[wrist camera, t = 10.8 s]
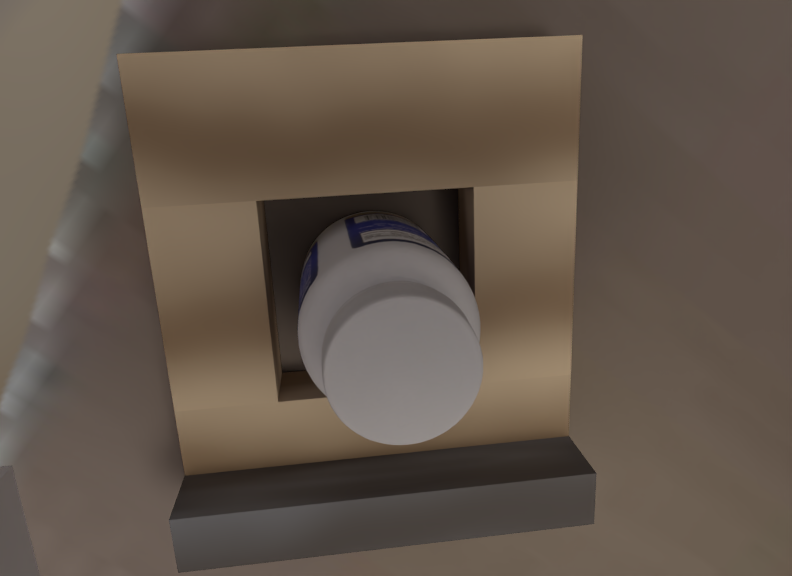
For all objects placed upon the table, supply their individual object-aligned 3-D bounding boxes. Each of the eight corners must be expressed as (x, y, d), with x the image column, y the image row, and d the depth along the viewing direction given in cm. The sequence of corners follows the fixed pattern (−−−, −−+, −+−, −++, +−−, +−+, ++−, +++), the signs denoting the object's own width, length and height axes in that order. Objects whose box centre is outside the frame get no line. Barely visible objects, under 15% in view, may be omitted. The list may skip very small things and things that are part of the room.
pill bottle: (365, 370, 25) (389, 508, 16) (271, 273, 23) (244, 371, 15) (470, 282, 24) (550, 379, 16) (381, 178, 23) (418, 222, 14)
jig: (139, 59, 21) (86, 47, 16) (554, 41, 22) (618, 26, 17) (204, 484, 25) (178, 572, 21) (545, 448, 27) (593, 524, 22)
